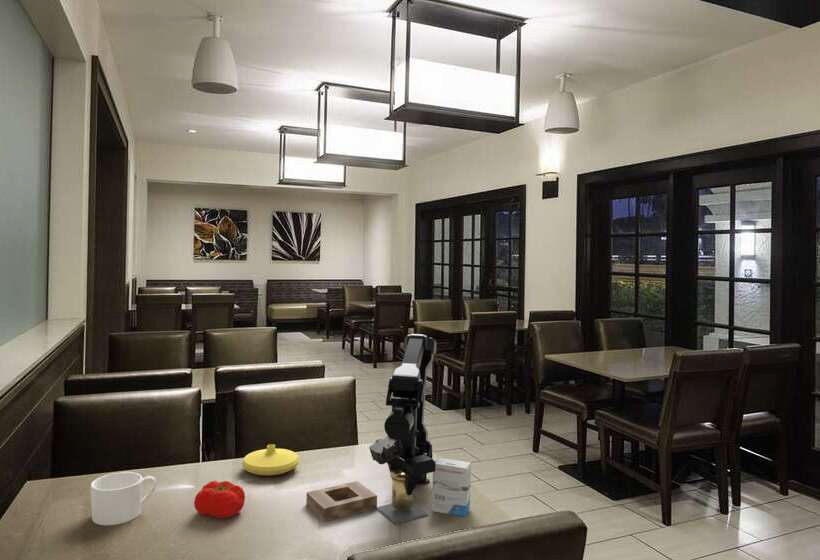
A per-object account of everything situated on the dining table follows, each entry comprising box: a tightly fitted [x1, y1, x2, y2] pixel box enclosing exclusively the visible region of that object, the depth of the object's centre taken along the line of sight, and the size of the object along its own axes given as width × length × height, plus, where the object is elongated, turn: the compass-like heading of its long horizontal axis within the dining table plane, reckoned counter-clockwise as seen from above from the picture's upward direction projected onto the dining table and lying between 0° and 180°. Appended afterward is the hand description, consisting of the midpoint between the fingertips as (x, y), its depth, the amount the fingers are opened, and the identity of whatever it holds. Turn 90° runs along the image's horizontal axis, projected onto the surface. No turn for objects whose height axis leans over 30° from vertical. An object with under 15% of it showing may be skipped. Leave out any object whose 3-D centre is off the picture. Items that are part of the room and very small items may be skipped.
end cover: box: [390, 468, 414, 510], centre depth 134 cm, size 6×6×8 cm
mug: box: [90, 471, 157, 526], centre depth 128 cm, size 13×10×8 cm
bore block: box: [306, 480, 378, 522], centre depth 136 cm, size 14×10×3 cm
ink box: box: [431, 457, 472, 518], centre depth 136 cm, size 8×5×12 cm, turn 71°
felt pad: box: [375, 502, 429, 525], centre depth 134 cm, size 9×9×1 cm
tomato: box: [193, 480, 246, 519], centre depth 131 cm, size 10×11×6 cm
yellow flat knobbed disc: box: [241, 444, 300, 477], centre depth 157 cm, size 16×16×7 cm
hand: (402, 490), depth 134 cm, fingers closed on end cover, 5 cm apart
